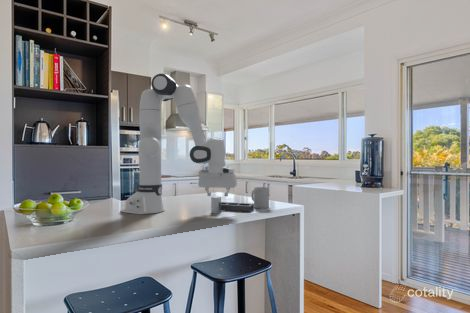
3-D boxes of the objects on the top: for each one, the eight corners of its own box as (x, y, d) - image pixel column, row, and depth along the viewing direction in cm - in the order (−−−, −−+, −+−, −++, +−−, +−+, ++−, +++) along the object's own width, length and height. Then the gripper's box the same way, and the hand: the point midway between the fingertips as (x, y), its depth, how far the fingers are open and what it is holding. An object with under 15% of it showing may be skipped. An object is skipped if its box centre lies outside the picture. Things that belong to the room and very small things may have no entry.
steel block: (211, 212, 154) (211, 197, 153) (214, 211, 157) (214, 196, 157) (218, 213, 152) (218, 197, 152) (221, 211, 156) (221, 196, 156)
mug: (272, 207, 169) (272, 188, 169) (261, 209, 163) (261, 189, 163) (257, 204, 178) (257, 186, 178) (246, 206, 172) (246, 187, 172)
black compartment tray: (212, 209, 162) (212, 204, 162) (217, 206, 170) (217, 201, 170) (249, 212, 155) (250, 206, 155) (253, 209, 164) (253, 203, 164)
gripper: (196, 170, 154) (196, 196, 155) (233, 169, 149) (234, 197, 149) (200, 169, 160) (201, 194, 161) (237, 169, 155) (237, 195, 155)
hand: (217, 196), depth 155 cm, fingers open, 8 cm apart
